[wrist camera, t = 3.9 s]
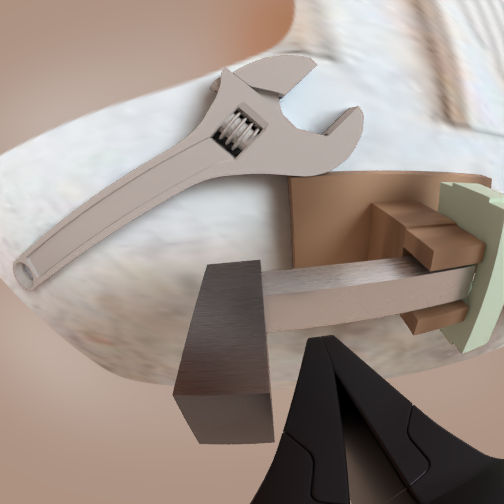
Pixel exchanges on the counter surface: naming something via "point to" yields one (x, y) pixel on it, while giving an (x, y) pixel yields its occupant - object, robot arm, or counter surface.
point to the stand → (382, 227)
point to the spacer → (489, 270)
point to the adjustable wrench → (205, 160)
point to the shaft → (282, 319)
